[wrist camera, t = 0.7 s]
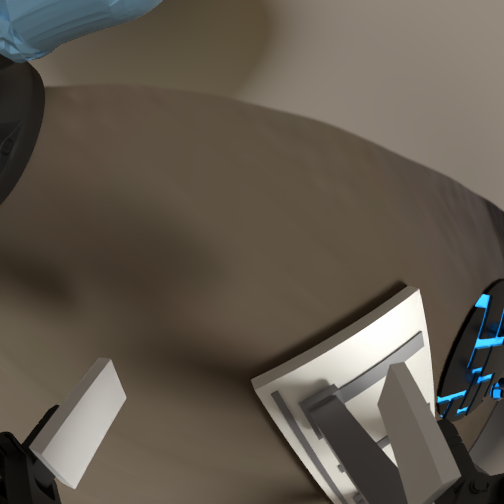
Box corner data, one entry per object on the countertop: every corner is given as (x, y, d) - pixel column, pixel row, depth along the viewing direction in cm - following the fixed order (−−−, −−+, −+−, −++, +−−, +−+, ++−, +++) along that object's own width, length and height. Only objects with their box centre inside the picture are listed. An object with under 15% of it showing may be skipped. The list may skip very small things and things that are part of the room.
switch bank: (250, 379, 21) (254, 391, 19) (408, 285, 22) (420, 289, 21) (341, 510, 26) (345, 517, 24) (428, 454, 28) (434, 459, 26)
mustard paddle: (298, 403, 19) (424, 593, 1) (333, 383, 20) (488, 547, 2) (314, 433, 20) (421, 591, 2) (346, 415, 20) (471, 557, 2)
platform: (411, 432, 26) (439, 457, 20) (469, 270, 25) (512, 279, 18) (485, 403, 30) (507, 417, 24) (525, 286, 29) (552, 292, 23)
